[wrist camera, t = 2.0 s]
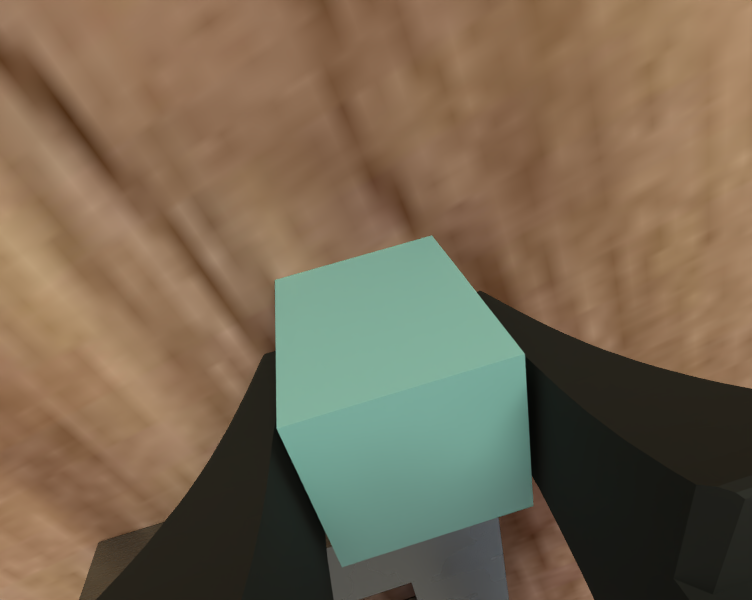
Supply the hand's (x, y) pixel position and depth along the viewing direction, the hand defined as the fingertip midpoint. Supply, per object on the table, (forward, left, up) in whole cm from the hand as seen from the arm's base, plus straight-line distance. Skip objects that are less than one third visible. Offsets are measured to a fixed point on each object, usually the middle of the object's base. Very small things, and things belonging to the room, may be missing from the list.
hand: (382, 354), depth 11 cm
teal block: (0, 0, -2) cm, 2 cm away
